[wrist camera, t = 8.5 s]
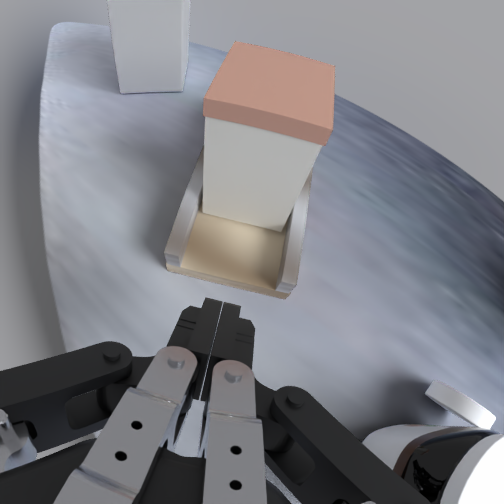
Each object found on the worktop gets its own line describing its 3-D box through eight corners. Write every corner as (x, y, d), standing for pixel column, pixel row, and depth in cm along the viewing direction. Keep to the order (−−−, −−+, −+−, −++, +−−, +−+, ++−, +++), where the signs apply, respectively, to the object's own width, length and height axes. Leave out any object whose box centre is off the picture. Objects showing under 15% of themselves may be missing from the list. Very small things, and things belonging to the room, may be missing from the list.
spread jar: (326, 510, 18) (409, 574, 7) (353, 375, 22) (459, 358, 12) (442, 496, 18) (536, 516, 8) (462, 382, 23) (562, 362, 12)
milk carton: (120, 95, 30) (101, -61, 13) (133, 62, 33) (125, -72, 16) (182, 93, 31) (188, -70, 14) (188, 60, 34) (197, -78, 17)
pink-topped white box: (221, 152, 26) (235, 41, 16) (293, 170, 26) (335, 66, 16) (200, 213, 24) (203, 98, 14) (282, 233, 24) (332, 130, 14)
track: (225, 110, 31) (231, 68, 26) (310, 131, 31) (326, 92, 26) (167, 270, 23) (158, 238, 18) (285, 299, 24) (307, 275, 19)
